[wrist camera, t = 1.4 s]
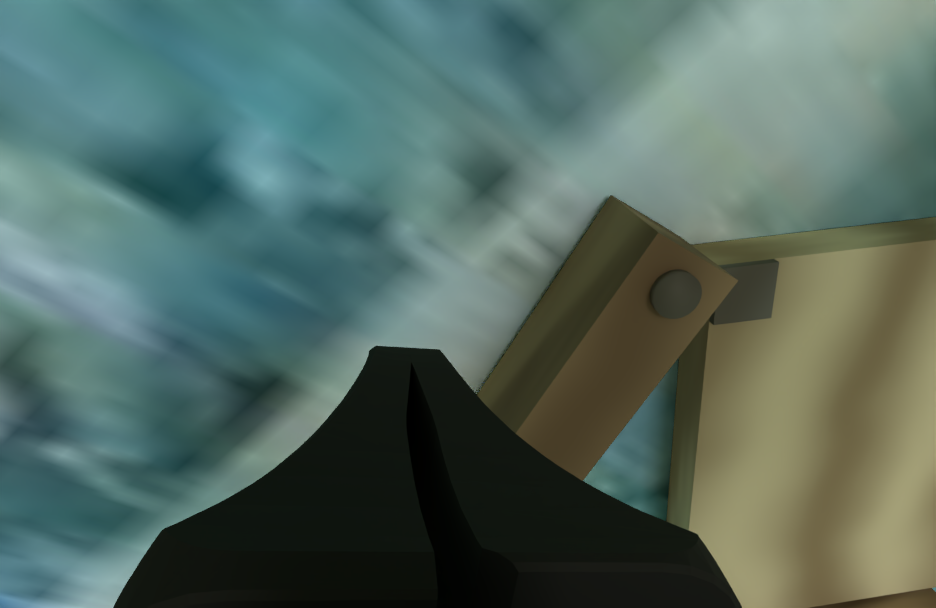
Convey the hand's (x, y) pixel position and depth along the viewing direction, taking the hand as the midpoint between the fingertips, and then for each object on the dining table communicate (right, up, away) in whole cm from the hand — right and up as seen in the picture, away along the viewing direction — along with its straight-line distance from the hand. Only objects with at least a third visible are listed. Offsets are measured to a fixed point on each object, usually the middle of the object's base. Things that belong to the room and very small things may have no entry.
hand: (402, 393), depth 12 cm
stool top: (+16, -5, +15) cm, 22 cm away
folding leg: (+5, +1, +11) cm, 12 cm away
